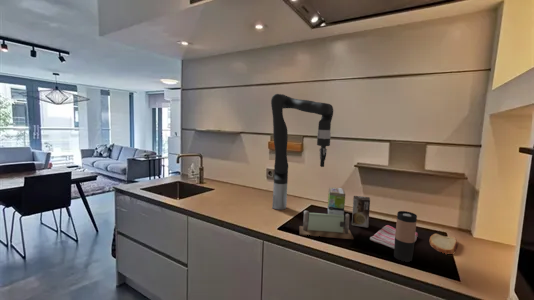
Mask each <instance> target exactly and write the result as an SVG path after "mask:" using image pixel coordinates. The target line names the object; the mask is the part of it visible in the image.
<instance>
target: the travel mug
mask: <svg viewBox="0 0 534 300" xmlns="http://www.w3.org/2000/svg"><path fill="white" fill-rule="evenodd" d="M417 221H418V214H416V213H414V212H411V211H405V210H400V211H397V216H396V223H395V225H396V226H395V229H396V232H395V245H394V249H393V257H394V258H395V259H396V260H398V261H400V260H401V262H404V261H405V262H406V263H409V262H410V261H411V262H412V261H413V255H414V249H415V242H416V241H415V233H417V231H416V230H417ZM405 262H404V263H405Z"/></svg>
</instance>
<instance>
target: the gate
mask: <svg viewBox="0 0 534 300" xmlns="http://www.w3.org/2000/svg"><path fill="white" fill-rule="evenodd" d="M340 222H345V214H344V215H336V214H328V213H320V212H309V213H308V230H316V231H328V232H341V233H343V229H344V227H340Z"/></svg>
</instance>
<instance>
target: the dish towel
mask: <svg viewBox="0 0 534 300" xmlns="http://www.w3.org/2000/svg"><path fill="white" fill-rule="evenodd" d="M395 232H396V227H393V226H391V225H389V224H387V225H385V226H383V227H382V228H381V229H379V230H378V231H377V232H376V233H374V234H373V235H372V236H370V237H369V240H370V241H372V242H374V243H376V244H380V245H383V246H385V247H387V248H388V247H389V249H390V248H391V249H393V250H394V245H395ZM418 236H419V234H418V232H416V233H415V242H416V241H417V239H418V238H417V237H418Z"/></svg>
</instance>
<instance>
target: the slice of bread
mask: <svg viewBox="0 0 534 300" xmlns="http://www.w3.org/2000/svg"><path fill="white" fill-rule="evenodd" d="M428 242H429V245H430V246H431V247H432V248H433V249H434V250H435V251H437V252H439V253H441V252H442V254H444V253H445V254H444V255H447V254H453V253H454V252H455V253H456V252H457V248H458V241H457V238H456V237H455V236H445V235H442V234H439V233H433V234H431V236H429V241H428ZM455 253H454V254H455ZM454 254H453V255H454Z"/></svg>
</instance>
